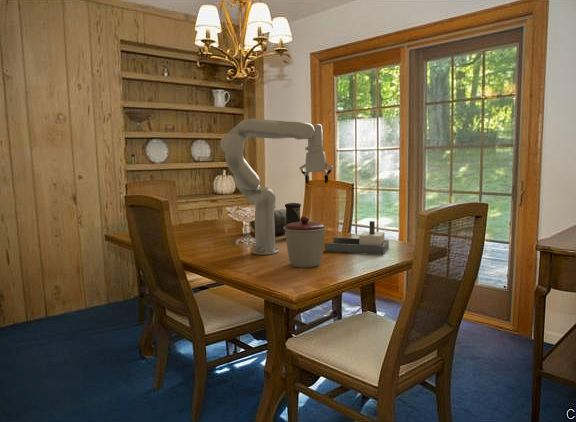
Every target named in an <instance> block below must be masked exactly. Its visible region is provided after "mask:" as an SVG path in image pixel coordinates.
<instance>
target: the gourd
mask: <svg viewBox="0 0 576 422" xmlns="http://www.w3.org/2000/svg"><path fill="white" fill-rule="evenodd" d="M249 222H250V221H249ZM274 222H275V236H278V235H281V234H284V233H285V230H284V228H283V227H285V226H286V208H285V209H284V208H282V209H276V210H275V209H274ZM250 225H251V226H250V227H251V228H252V229H253V230H254V231H255V220H254V221H252V222H250Z"/></svg>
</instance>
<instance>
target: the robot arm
mask: <svg viewBox="0 0 576 422" xmlns="http://www.w3.org/2000/svg"><path fill="white" fill-rule="evenodd" d="M323 135H324V134H323V125H322V124H320V123H313V124H312V123H309V122H300V121H284V120H275V119H274V120H272V119H263V118H261V119H260V118H247V119H244V120H240V122H239V123H238V124H236V125H235V126H234V127H233V128H232V129H231V130H229V131H228V132H227V133H226V134H225V135H224V136H223V137H222V138H221V140H220V148H221V150H222V151H223V152H224V153H225V156H224V157H225V163H226V166H227V168H228V169H229V171H230V172H231V173H232V175H233V176H234V179H233V181H234V184H235V187H236V188H237V189H238V190H239V191H240V193H241V194H242V195H243V196H244V197H245V199H246V200H247V201H248V202H249V203H250V204H252V205H254V206H255V208H254V212H255V230H254V242H255V243H254V244H255V247H254V248H252V250H251V252H252V253H253V254H254V255H259V256H260V255H261V256H262V255H263V256H264V255H265V256H266V255H274V254H277V253H279V249H278V248H277V247H276V235H275V222H274V211H275V209H276V195H275V191H273V190H272V189H271V188H269V187H266V186H265V187H264V186H261V185H260V184H261V179H260V177H259V175H258V174H257V172H256V171H255V170H254V169H253V168H252V167H251V166H250V164H249V163H248V161H247V159H245V156H244V150H245V149H244V148H245V142H246V141H247V140H248V139H249V138H258V139H259V138H261V139H272V140H273V139H276V140H277V139H288V138H289V139H290V138H291V139H295V140H298V141H299V140H302V141H303V140H307V146H306V147H304V149H305V151H307V152H306V153H305V154H306V155H305V164H303V165H302V166H300V167H299V169H300V171H301V174H302V175H303V176H304V181H305V183H306V184H310V175H309V174H310V173H321V172H322V173H323V174H324V184H328V182H329V175H330V174H331V173H332V171H333V169H334V166H333V165H331V164H329V163H327V158H326V152H325V151H324V140H323V139H324V137H323ZM327 167H328V168H329V169H327ZM304 169H305V170H304Z"/></svg>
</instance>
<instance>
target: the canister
mask: <svg viewBox="0 0 576 422" xmlns="http://www.w3.org/2000/svg"><path fill="white" fill-rule="evenodd" d="M300 219H301V222H294V223H289V224H287V225H286V226H285V227H283V228H284V230H285V232H284V233H285V239H286V247H287V253H288V254H287V255H288V260H289V263H290V264H291V266H293V267H295V268H304V269H307V268H309V269H310V268H313V267H314V268H315V267H317V266H319V265H320V264H321V262H322V259H323V251H324V244H325V243H324V242H325V230H326V229H327V226H326V225H324V224H323V223H322V222H318V221H317V222H316V221H310V219H309V217H308V216H306V215H303V216H300Z"/></svg>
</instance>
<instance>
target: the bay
mask: <svg viewBox="0 0 576 422" xmlns="http://www.w3.org/2000/svg"><path fill="white" fill-rule="evenodd" d="M389 246H390V240H389V239H384V243H383V244H382V245H381V246H374V245H359V237H358V238H355V237H354V238H353V237H338V236H337V237H336V236H335V237H334V236H333V240H332V242H325V243H324V252H327V253H328V252H329V253H330V252H331V253H343V252H351V253H350V254H359V253H367V254H366V255H374V254H382V255H381V256H384V255H383V254H386V252H387V251H388V250H389V248H390V247H389ZM387 249H388V250H387ZM386 250H387V251H386ZM385 251H386V252H385Z"/></svg>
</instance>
